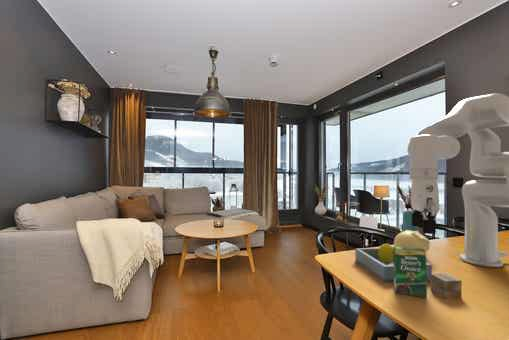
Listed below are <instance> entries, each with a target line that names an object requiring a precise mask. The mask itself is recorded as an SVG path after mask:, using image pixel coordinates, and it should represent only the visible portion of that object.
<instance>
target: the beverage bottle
mask: <svg viewBox="0 0 509 340" xmlns="http://www.w3.org/2000/svg"><path fill="white" fill-rule="evenodd" d="M404 208H405V209H409V210H404V211H402V232H404V231H406V230H409V231H410V230H411V231H418V232H420V229H419V226H412V206H411V202H410V203H405V207H404ZM410 209H411V210H410Z"/></svg>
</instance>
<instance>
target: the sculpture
mask: <svg viewBox="0 0 509 340" xmlns="http://www.w3.org/2000/svg"><path fill="white" fill-rule="evenodd" d="M430 244H431V241H430V240H429V239H428V238H427V237H426V236H424V235H423V234H421V232H420V231H411V230H410V231H409V230H406V231H404V232H403V231H401V232H399V233H398V234H397V235H396V236H395V237H394V239H393V247H402V248H414V249H415V248H417V249H424V250H425V251H426V253H427V252H428V251H429V250H430Z"/></svg>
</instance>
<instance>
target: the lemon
mask: <svg viewBox="0 0 509 340" xmlns="http://www.w3.org/2000/svg"><path fill="white" fill-rule="evenodd" d="M393 247H394V246H392V245H391V244H389V243H388V242H386V243H382V244H381V245H379V247H378V248H379V251H378V255H379V258H380V260H381V261H382V262H383V263H385V264H386V265H388V264H390V263H392V262H393V261H394V256H393Z"/></svg>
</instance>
